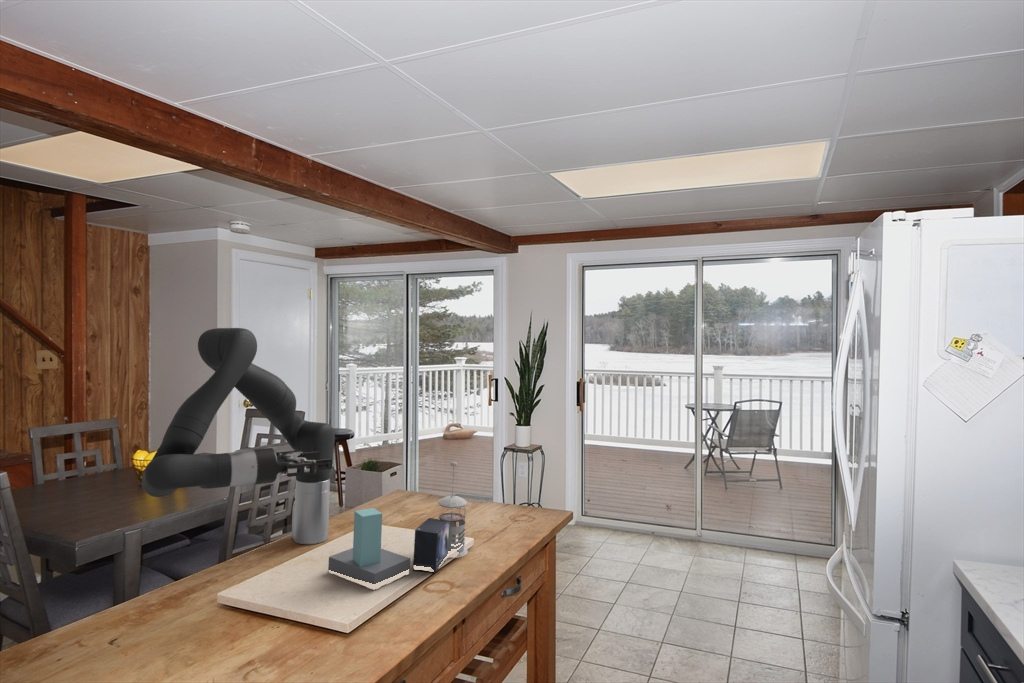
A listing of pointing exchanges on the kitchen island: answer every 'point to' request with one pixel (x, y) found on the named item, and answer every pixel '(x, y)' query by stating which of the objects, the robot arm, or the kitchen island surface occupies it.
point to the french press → (454, 520)
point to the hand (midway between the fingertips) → (325, 459)
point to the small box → (431, 543)
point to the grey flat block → (369, 566)
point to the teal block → (367, 536)
